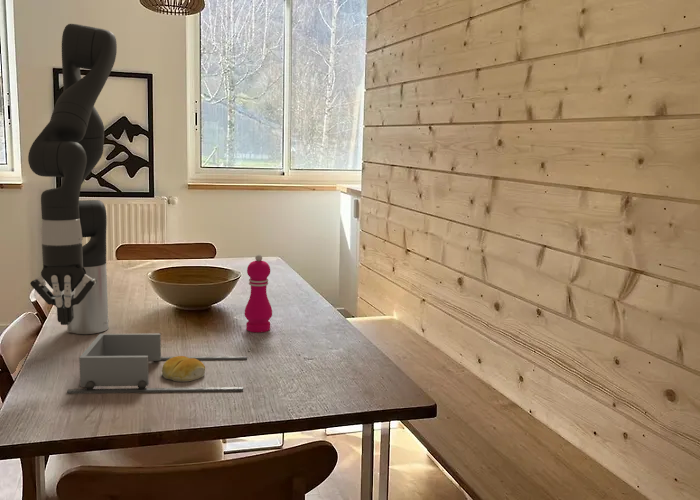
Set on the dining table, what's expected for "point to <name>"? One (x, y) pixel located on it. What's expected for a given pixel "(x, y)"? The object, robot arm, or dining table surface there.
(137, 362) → the frame
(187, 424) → the dining table surface
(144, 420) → the dining table surface
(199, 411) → the dining table surface
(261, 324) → the pepper mill
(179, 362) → the bread roll
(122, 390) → the track
